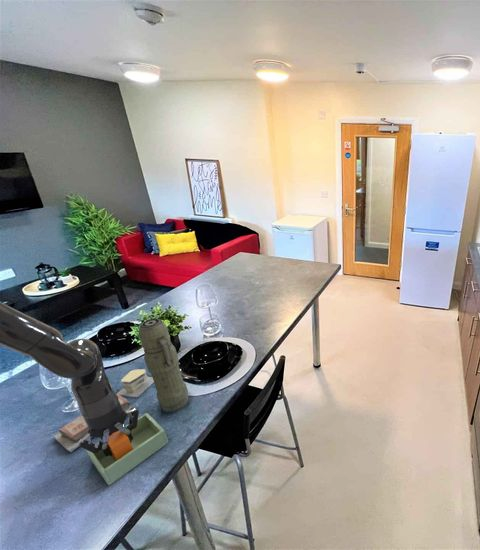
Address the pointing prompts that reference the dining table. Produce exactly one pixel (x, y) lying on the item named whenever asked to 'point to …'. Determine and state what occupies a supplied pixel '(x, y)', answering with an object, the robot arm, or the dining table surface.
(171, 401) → the thermos
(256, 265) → the dining table surface
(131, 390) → the stacked layers on plate
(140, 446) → the bin
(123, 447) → the block
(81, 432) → the packaged product
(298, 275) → the dining table surface
